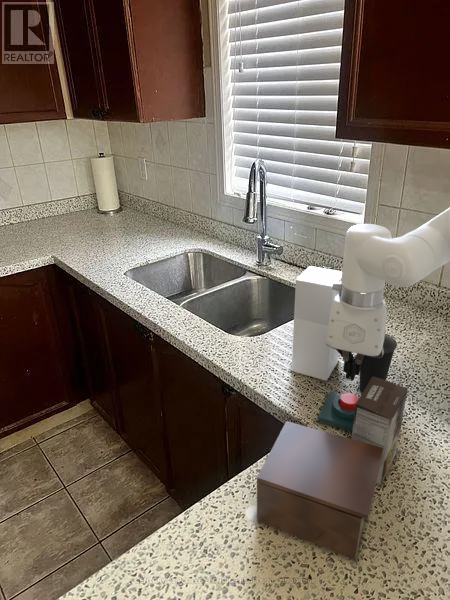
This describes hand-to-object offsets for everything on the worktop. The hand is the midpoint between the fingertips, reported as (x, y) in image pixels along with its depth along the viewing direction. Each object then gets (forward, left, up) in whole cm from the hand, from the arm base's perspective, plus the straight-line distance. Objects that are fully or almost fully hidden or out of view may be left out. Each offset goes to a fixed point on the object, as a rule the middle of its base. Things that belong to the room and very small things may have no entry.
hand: (350, 375), depth 89 cm
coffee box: (-7, +11, -11) cm, 17 cm away
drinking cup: (-3, -10, -11) cm, 16 cm away
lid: (-1, +24, -1) cm, 24 cm away
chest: (0, +24, -11) cm, 26 cm away
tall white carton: (+11, -14, -11) cm, 21 cm away
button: (0, 0, -7) cm, 7 cm away
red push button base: (0, 0, -11) cm, 11 cm away
